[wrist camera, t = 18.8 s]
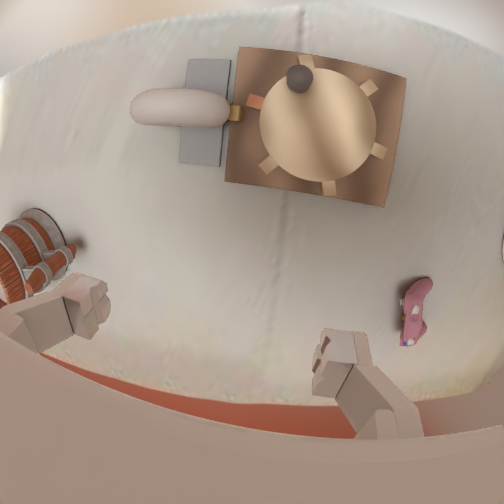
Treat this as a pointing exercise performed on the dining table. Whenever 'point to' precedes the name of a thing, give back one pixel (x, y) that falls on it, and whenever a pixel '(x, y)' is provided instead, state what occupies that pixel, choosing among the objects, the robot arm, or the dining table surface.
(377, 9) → the dining table surface
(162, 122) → the donut
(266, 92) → the wheel base
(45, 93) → the dining table surface
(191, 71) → the donut mat
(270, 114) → the index wheel
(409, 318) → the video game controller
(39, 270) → the mug
